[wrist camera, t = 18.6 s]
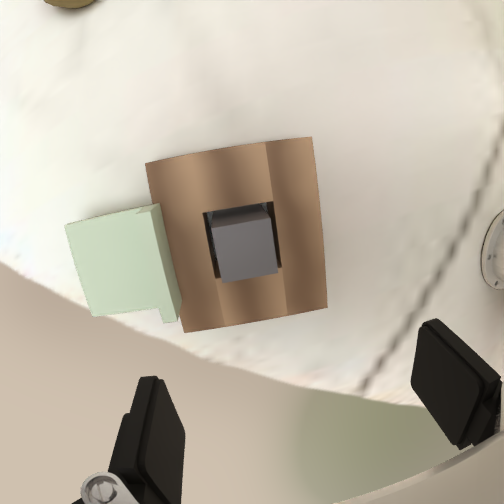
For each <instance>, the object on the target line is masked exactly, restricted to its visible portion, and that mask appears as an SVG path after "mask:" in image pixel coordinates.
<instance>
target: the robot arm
mask: <svg viewBox="0 0 504 504" xmlns="http://www.w3.org/2000/svg"><path fill="white" fill-rule="evenodd" d="M482 273H483V276H484V279H485V281H486V282H487V283H488V284H489V285H490V286H491V287H493V288H495V289H504V211H503V212H501V213H500V214H499V215H498V216H497V218H496V219H495V220H494V222H493V223H492V225H491V227H490V229H489V231H488V233H487V236H486V239H485V242H484V246H483V251H482ZM500 378H501V376H500V375H499V374H498V373H497V372H496V371H495V370H494V369H493V368H491V367H490V366H489V365H488V364H487V363H486V362H485V361H484V360H483V359H482V358H481V357H480V356H479V355H478V354H477V353H476V352H475V351H473V350H472V349H471V348H470V347H469V346H468V345H467V344H466V343H465V342H464V341H463V340H461V339H460V338H459V337H458V336H457V335H456V334H455V333H454V332H453V331H452V330H450V329H449V328H448V327H447V326H446V325H445V324H444V323H443V322H441V321H440V320H439V319H437V318H435V319H432V320H429V321H426V322H424V323H423V324H422V327H420V328H419V331H418V339H417V346H416V352H415V358H414V364H413V370H412V376H411V386H412V388H413V390H414V391H415V393H416V394H417V395H418V397H419V398H420V400H421V401H422V402H423V404H424V405H425V407H426V408H427V409H428V411H429V412H430V413H431V415H432V416H433V418H434V419H435V421H436V422H437V423H438V425H439V426H440V428H441V429H442V431H443V432H444V433H445V435H446V436H447V438H448V439H449V441H450V442H451V443H452V444H453V445H456V446H457V447H458V448H459V450H462V449H463V448H465V447H467V446H469V445H471V443H472V444H473V445H474V447H472V448H471V449H469V450H467V451H465V452H463V453H461V454H459V455H457V456H455V457H453V458H451V459H449V460H447V461H445V462H444V463H441V464H439V465H437V466H435V467H433V468H431V469H429V470H426V471H424V472H422V473H420V474H417V475H415V476H413V477H410V478H408V479H405V480H403V481H400V482H398V483H395V484H392V485H390V486H387V487H384V488H382V489H379V490H376V491H373V492H370V493H367V494H364V495H361V496H358V497H354V498H351V499H348V500H344V501H341V502H337V503H333V504H504V382H502V381H501V380H500ZM184 449H185V430H184V427H183V425H182V423H181V421H180V418H179V416H178V414H177V412H176V409H175V407H174V404H173V402H172V400H171V397H170V395H169V392H168V390H167V387H166V385H165V383H164V380H162V379H158V377H157V376H146V377H141V378H140V379H139V382H138V386H137V389H136V392H135V396H134V399H133V403H132V406H131V410H130V413H126V414H125V415H124V416H123V418H122V422H121V426H120V429H119V432H118V436H117V440H116V443H115V447H114V450H113V454H112V457H111V461H110V465H109V469H108V472H98V473H95V474H93V475H91V476H89V477H88V478H87V479H86V480H85V481H84V482H83V485H82V487H81V496H82V498H80V499H79V500H77V501H75V502H74V503H72V504H181V494H182V477H183V462H184Z"/></svg>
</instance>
